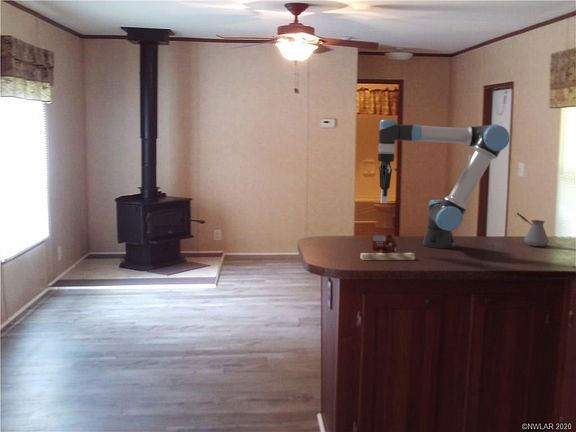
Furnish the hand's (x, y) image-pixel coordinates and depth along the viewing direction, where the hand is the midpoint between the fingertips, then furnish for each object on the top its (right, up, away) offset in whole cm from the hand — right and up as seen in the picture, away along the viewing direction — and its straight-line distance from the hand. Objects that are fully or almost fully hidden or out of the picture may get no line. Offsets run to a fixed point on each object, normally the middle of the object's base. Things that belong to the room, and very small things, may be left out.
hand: (383, 202), depth 282 cm
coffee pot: (+80, -21, +27) cm, 87 cm away
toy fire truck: (-2, -25, -13) cm, 28 cm away
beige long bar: (-1, -25, -19) cm, 32 cm away
